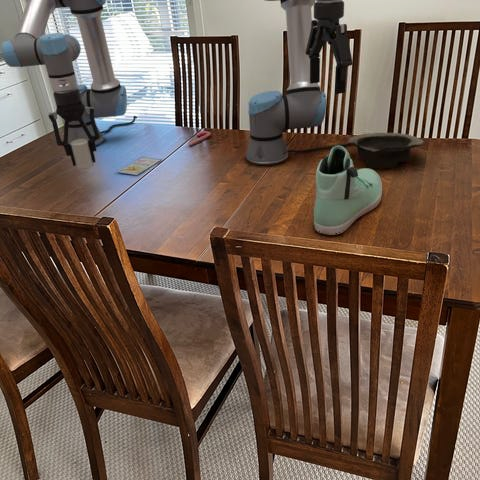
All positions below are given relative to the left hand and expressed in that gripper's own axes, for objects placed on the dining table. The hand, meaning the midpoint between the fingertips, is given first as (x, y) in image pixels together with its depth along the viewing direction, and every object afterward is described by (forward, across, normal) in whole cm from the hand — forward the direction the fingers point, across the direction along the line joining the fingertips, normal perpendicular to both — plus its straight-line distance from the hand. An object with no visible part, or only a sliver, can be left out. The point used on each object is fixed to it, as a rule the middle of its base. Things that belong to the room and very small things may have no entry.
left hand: (84, 162), depth 155 cm
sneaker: (+11, +71, -45) cm, 85 cm away
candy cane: (+11, +44, +33) cm, 57 cm away
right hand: (-22, +68, -35) cm, 80 cm away
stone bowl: (+11, +99, -18) cm, 101 cm away
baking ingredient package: (+11, +18, +16) cm, 26 cm away
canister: (+1, 0, 0) cm, 1 cm away
